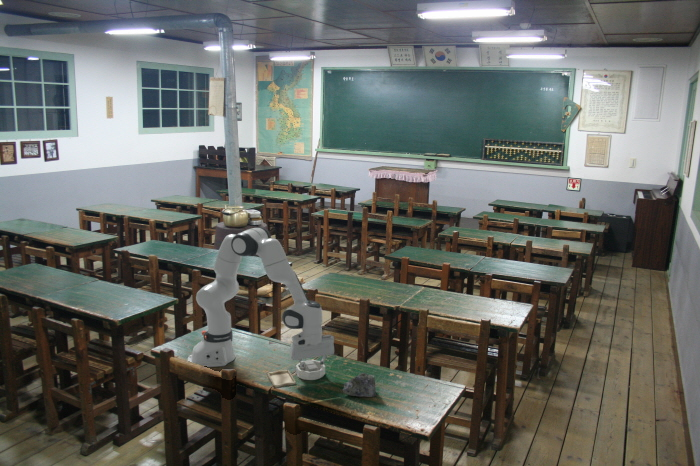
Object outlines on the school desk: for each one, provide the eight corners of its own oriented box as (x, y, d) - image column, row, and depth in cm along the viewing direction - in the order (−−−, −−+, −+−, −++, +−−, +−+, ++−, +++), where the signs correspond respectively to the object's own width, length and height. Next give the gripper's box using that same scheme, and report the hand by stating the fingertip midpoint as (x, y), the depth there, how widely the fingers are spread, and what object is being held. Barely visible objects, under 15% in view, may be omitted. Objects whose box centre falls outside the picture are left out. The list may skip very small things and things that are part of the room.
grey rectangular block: (309, 378, 246) (309, 369, 245) (306, 374, 250) (306, 365, 249) (317, 376, 248) (317, 367, 247) (315, 373, 251) (315, 364, 250)
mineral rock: (341, 395, 233) (341, 373, 231) (353, 385, 242) (353, 364, 240) (368, 403, 227) (369, 380, 225) (379, 392, 236) (380, 370, 234)
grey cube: (306, 373, 251) (306, 364, 250) (303, 369, 254) (303, 361, 254) (314, 372, 252) (314, 363, 251) (311, 368, 256) (311, 359, 255)
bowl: (301, 383, 243) (301, 373, 243) (293, 371, 255) (293, 362, 254) (327, 378, 248) (327, 369, 247) (319, 367, 259) (319, 358, 258)
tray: (273, 388, 238) (273, 385, 237) (267, 376, 249) (266, 372, 249) (296, 385, 241) (296, 381, 241) (288, 372, 253) (288, 369, 253)
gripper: (331, 331, 252) (331, 359, 255) (288, 337, 244) (288, 366, 247) (336, 336, 246) (336, 365, 249) (292, 342, 239) (292, 372, 241)
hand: (312, 365), depth 248 cm, fingers open, 8 cm apart
